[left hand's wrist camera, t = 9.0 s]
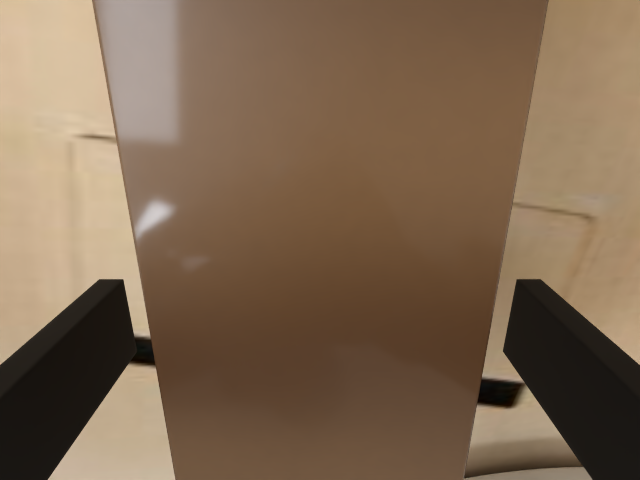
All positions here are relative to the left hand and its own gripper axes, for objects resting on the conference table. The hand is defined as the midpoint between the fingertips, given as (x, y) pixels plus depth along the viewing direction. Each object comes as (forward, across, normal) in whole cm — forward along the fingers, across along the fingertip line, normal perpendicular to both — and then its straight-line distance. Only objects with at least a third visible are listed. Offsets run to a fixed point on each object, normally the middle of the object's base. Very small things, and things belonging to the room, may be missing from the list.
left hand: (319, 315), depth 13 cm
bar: (+3, 0, -8) cm, 9 cm away
